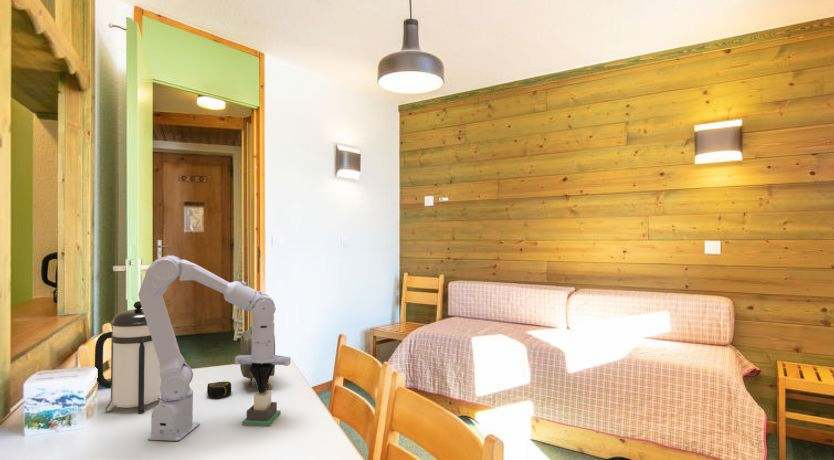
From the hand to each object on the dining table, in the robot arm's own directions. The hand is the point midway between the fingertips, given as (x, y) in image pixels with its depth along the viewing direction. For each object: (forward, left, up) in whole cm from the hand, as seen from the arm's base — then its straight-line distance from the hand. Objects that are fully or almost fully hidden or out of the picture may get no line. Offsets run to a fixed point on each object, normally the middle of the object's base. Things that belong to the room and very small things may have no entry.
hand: (262, 391), depth 120 cm
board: (0, 0, -8) cm, 8 cm away
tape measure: (+16, +21, -8) cm, 28 cm away
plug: (0, 0, -6) cm, 7 cm away
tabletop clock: (+25, +13, -8) cm, 29 cm away
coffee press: (+5, +41, -8) cm, 42 cm away
